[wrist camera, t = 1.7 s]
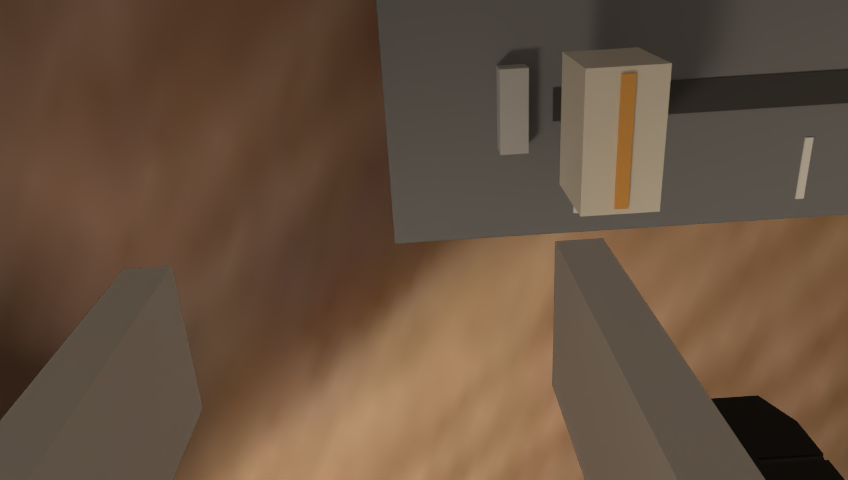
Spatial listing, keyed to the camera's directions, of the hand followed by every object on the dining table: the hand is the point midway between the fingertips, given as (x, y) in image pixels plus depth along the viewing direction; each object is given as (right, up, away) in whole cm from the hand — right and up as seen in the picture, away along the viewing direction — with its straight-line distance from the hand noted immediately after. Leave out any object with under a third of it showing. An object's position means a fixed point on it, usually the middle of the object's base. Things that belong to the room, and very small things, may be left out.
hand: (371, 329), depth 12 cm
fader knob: (+6, +6, +13) cm, 16 cm away
